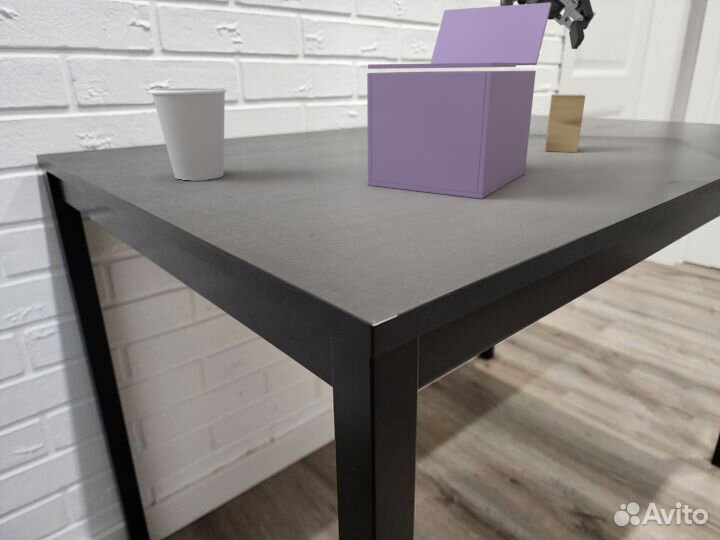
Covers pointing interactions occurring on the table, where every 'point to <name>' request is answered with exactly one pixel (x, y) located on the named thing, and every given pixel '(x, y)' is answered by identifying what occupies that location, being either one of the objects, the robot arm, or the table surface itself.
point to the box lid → (492, 34)
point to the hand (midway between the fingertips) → (550, 44)
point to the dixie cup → (193, 130)
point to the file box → (448, 128)
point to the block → (564, 122)
